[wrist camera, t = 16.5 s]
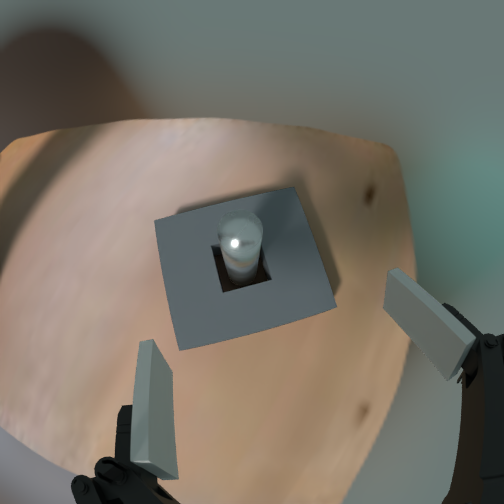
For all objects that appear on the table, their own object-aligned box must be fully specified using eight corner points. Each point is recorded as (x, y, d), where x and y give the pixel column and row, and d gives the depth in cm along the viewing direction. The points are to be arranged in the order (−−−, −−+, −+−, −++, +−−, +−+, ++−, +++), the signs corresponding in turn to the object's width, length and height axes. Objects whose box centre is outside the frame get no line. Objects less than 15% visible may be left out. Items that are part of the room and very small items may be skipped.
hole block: (186, 349, 27) (179, 350, 24) (162, 232, 32) (154, 220, 28) (327, 310, 29) (337, 307, 26) (289, 201, 33) (293, 186, 30)
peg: (231, 289, 30) (223, 257, 18) (224, 262, 31) (212, 215, 19) (259, 281, 30) (268, 245, 19) (252, 255, 31) (255, 205, 20)
